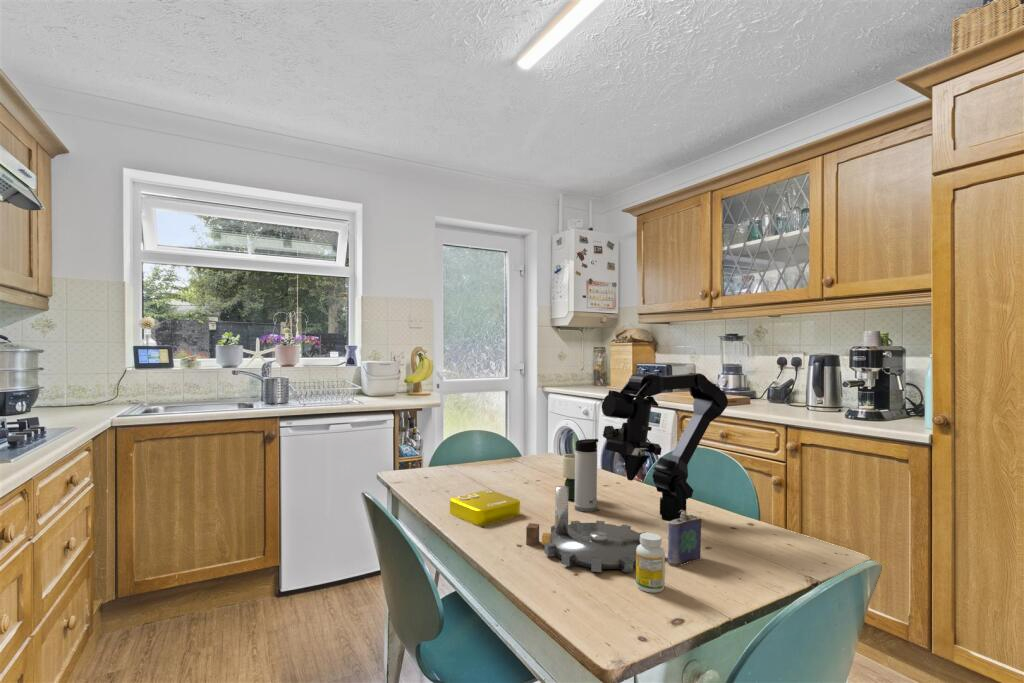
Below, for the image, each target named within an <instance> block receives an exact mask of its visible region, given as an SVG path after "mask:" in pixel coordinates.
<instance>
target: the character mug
mask: <svg viewBox="0 0 1024 683" xmlns="http://www.w3.org/2000/svg"><path fill="white" fill-rule="evenodd" d="M561 460H562V462H561V464H562V467H561V468H562V472H561V473H562V474H561V475H562V477H563V478H565V481H564V485H563V486H567V487H568V488H569V489H568V500H575V453H567V454H563V455H562V459H561Z"/></svg>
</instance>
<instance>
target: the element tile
mask: <svg viewBox="0 0 1024 683" xmlns="http://www.w3.org/2000/svg"><path fill="white" fill-rule="evenodd" d="M449 514H450V515H452V516H454V517H456V518H458V519H461V520H463V521H465V522H468V523H470V524H473V525H475V526H481V527H482V526H487V525H491V524H494V523H499V522H501V520H503V521H506V520H505V519H507V520H509V518H510V519H513V518H512V517H514V518H517V517H520V515H521V501H520V500H519V498H513V497H512V496H509V495H505V494H503V493H500V492H497V491H493V490H490V489H485V490H480V491H477V492H471V493H466V494H461V495H458V496H452V497H451V498H449ZM516 516H517V517H516ZM498 521H499V522H498Z"/></svg>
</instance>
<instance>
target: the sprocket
mask: <svg viewBox="0 0 1024 683" xmlns="http://www.w3.org/2000/svg"><path fill="white" fill-rule="evenodd" d="M568 489H569V488H568V487H567V486H564V485H556V486H555V507H554V508H555V512H554V513H555V515H554V516H555V517H554V521H555V522H554V525H552V526H550V532H543V533H542V535H541V544H542V545H543V546H544V549H543V550H544V551H543V553H544V554H545V555H547V556H548V557H551V556H556V557H558V558H559V559H561V565H564V566H567V567H571V566H573V565H577V566H581V567H587V568H590V569H591V572H594V573H595V572H596V573H602V570H603V569H604V570H606V569H607V570H609V569H611V570H613V569H616V570H617V569H620V570H621V571H622V572H623V573H628V572H634V567H636V549H637V547H638V546H639V545H640V544H641V543H640V535H641V534H642V533H647V532H646V531H644V532H638V531H636V530H633V529H631V528H632V527H631V526H630V525H628V524H621V525H616V524H612V523H611V524H609V523H606V521H604V520H596V522H581V521H580V520H572V521H570V523H569V499H568Z"/></svg>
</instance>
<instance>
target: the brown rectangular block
mask: <svg viewBox="0 0 1024 683" xmlns="http://www.w3.org/2000/svg"><path fill="white" fill-rule="evenodd" d="M525 529H526V530H525V532H526V533H525V535H526V536H525V538H526V539H525V540H526V541H525V542H526V543H525V545H526V546H535V547H536V546H537V545H538V543H539V542H540V524H539V523H531V522H529V523H528V525H526V528H525Z"/></svg>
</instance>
